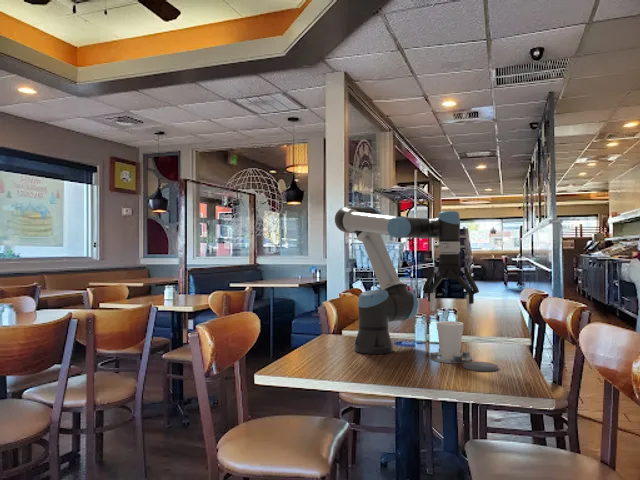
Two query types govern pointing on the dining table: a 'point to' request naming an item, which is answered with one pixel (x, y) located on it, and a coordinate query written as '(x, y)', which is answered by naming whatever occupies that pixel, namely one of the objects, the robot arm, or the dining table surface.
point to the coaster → (480, 366)
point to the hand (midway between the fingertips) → (450, 311)
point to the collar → (456, 360)
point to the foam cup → (450, 338)
